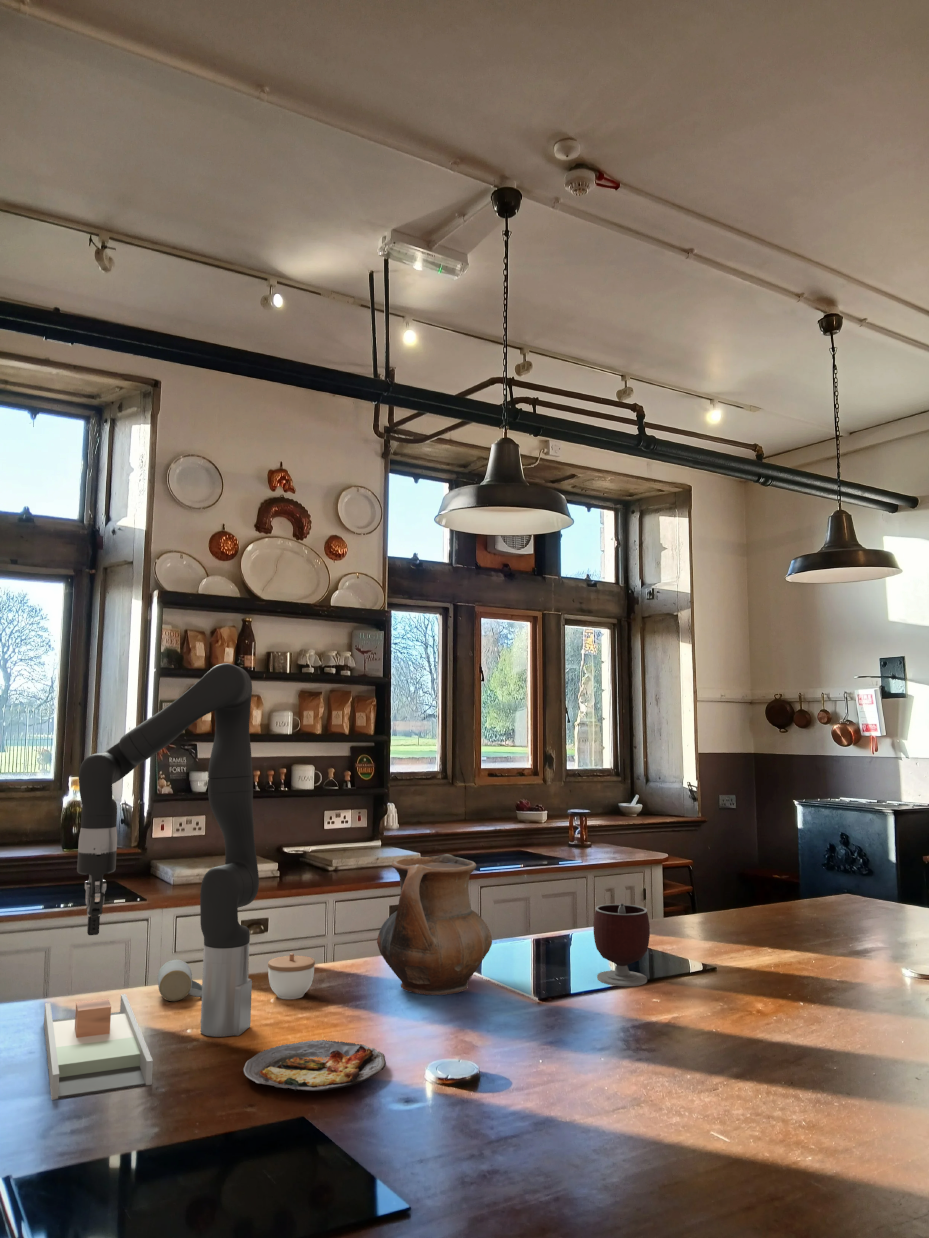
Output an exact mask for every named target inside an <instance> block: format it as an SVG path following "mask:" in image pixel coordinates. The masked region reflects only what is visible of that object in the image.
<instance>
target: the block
mask: <svg viewBox="0 0 929 1238" xmlns="http://www.w3.org/2000/svg"><path fill="white" fill-rule="evenodd" d="M111 1013H112V1005H111V1002H110V999H109V998H100V999H92V1000H84V1001H83V1000H82V1001H76V1002H75V1016H74V1017H75V1033H76V1038H79V1037H87V1036H95V1035H103V1034H110V1020H111Z"/></svg>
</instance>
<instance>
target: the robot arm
mask: <svg viewBox="0 0 929 1238" xmlns="http://www.w3.org/2000/svg"><path fill="white" fill-rule="evenodd" d="M252 682H253V681H252V679H251V677H250V675H249V673H248V672H247V671H246V670H245V669H244V668H241V667H240V666H237V665H235V664H232V663H220V664H217V665H215V666H213V667H212V668H210V670H208V671H207V672H206V673H205V674H204V675H202V677H201V678H200V679H199V680H198V681H196V682H195V683H194V684H193V685H192V686H191V687H190V688H189V689H187V691H185V692H184V693H183V694H181V695H180V696H179V697H178V698H177V699H175V700H174V701H172V702H171V703H169V705H167V706H165V707H164V708H163V709H162V710H159V711H158V712H156V713H155V714H153V715H152V716H151V717H149V718H147V719H146V720H144V721H143V722H141V723H140V724H138V725H136V727H135V726H134V728H132V729H131V730H130V731H128V732H126V733H125V734H124V735H123V736H122V737H121V738H119V741H118V742H117V743H116V744H114V745H113V746H112V747H110V748H108V749H107V750H105V751H104V752H100V753H93V754H90V755H88V756H87V757H85V759H83V761H82V763H81V764H80V767H79V772H78V787H79V796H80V802H81V816H80V817H81V818H80V832H79V837H78V850H77V865H76V871H77V873H78V874H80V875H86V876H87V875H88V880H86V881H84V889H85V901H84V902H85V904H86V910H87V911H86V915H87V928H86V931H87V932H86V933H87V935H88V936H97V935H99V934H100V922H101V915H102V914H103V907H104V904H105V896H106V894H105V893H106V891H107V881H106V880H105V879H104V875H105V874H110V873H114V872H115V871H116V867H117V865H116V864H117V847H118V832H117V831H118V830H117V822H118V821H117V819H118V803H117V802H116V800H114V798H113V785H114V784H116V783H117V782H119V781H120V780H121V779H123V778H124V777H126V776H127V775H128V774H129V773H131V772H132V771H133V770H134V769H135V768H137V766H138V765H139V764H142V763H144V762H145V761H146V760H148V759H149V758H151V757H153V756H154V755H156V754H157V753H159V752H160V751H162V750H163V749H164V748H166V747H167V746H169V745H170V744H171V743H172V742H173V741H175V740H176V739H177V738H178V737H180V735H182V733H183V732H184V731H185V730H187V729H188V728H189V727H190V726H191V725H192V724H194V723H195V722H197V721H198V720H200V719H201V718H203V717H204V716H206V715H209V714H211V713H213V712H214V721H215V724H214V725H215V729H214V739H213V744H212V749H211V752H210V753H211V754H210V757H209V762H208V773H207V778H208V779H207V780H208V781H207V787H208V788H207V789H208V790H207V793H208V803H209V807H210V810H211V812H212V814H213V816H214V818H215V820H216V822H217V824H218V826H219V828H220V831H221V833H222V836H223V839H224V850H225V851H224V853H225V858H224V859H225V861H224V862H225V863H224V864H223V865H222V864H221V865H218V866H215V867H211V868H210V869H209V870H207V872H206V873H205V874H204V876H203V878H202V881H201V884H200V885H201V886H200V897H199V900H200V901H199V902H200V903H199V904H200V909H199V910H200V919H199V920H200V928H201V929H200V930H201V932H202V935H203V957H202V958H203V960H202V983H201V985H202V997H201V1004H200V1005H201V1007H200V1011H201V1012H200V1033H201V1034H202V1035H204V1036H207V1037H212V1038H213V1037H217V1038H220V1037H221V1038H223V1037H231V1036H241V1035H242V1034H243V1033H244V1032H245V1031H246V1030H247V1029H249V1028H250V1027H251V1017H252V1016H251V1015H252V992H253V991H252V989H253V987H252V985H253V981H252V978H249V972H250V971H249V968H250V942H251V941H250V940H251V931H250V928H248V926H245V925H242V924H240V923H239V914H238V912H239V911H238V908H242V907H246V906H248V905H250V904H251V903H252V902H253V901H254V900H255V899H256V897H257V895H258V891H259V886H260V876H259V868H258V861H257V860H258V859H257V852H256V851H257V850H256V843H255V842H256V841H255V830H254V829H255V827H254V824H255V823H254V805H253V801H254V800H253V799H254V783H253V780H254V779H253V778H254V777H253V762H252V761H253V760H252V747H251V736H250V719H251V716H250V715H251V708H252V707H251V704H252V696H253V683H252Z"/></svg>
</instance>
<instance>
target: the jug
mask: <svg viewBox="0 0 929 1238" xmlns="http://www.w3.org/2000/svg"><path fill="white" fill-rule="evenodd" d="M391 867H392V868H393V869H395V871H396V872H397V874H398V875H399V877H398V878H399V884H400V885H399V886H400V894H399V899H398V905H397V909H396V911H395V912H393V913H392V914H390V916H389V917H388V918H386V920H385V921H384V922H383V924H382V926H381V927H380V929H379V931H378V935H377V939H376V944H377V946H378V951H379V953H380V955H381V957H382V958H383V960H384V961H385V962H386V964H387V965H388V967H389V968H390V969H391V970H392V972H393V973H394V974H395V975H396V977H397V978H398V979H399V981H401V984H400V988H402V990H404V991H407V992H409V993H413V994H420V995H426V996H427V995H428V996H441V995H442V996H444V995H445V996H447V995H451V994H453V995H454V994H456V993H457V994H458V993H460V992H464V991H466V990H467V989H468V988H469V981H470V979H471V978H472V977H473V975H474V974H475V972H476V971H477V969H478V968H479V966H480V965H481V963H482V962H483V960H484V959H485V958H486V956H487V954H488V953H489V952H490V950H491V947H492V945H493V944H492V943H493V938H492V934H491V931H490V929H489V926H488V924H487V922H486V921H485V920H484V919H483V918H482V917H481V916H480V915H479V913H478V912H476V911H475V910H473V909H472V907H471V903H470V901H471V900H470V894H469V893H470V892H469V883H470V876H471V874H472V873H473V872H474V871H475V870H476V868H477V864H476V862H474V861H473V860H468V859H465V858H461V857H456V856H454V855H453V854H448V853H446V854H445V853H444V854H440V855H434V856H417V857H410V858H409V857H403V858H399V859H396V860H394V861H392V862H391Z"/></svg>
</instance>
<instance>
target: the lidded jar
mask: <svg viewBox="0 0 929 1238" xmlns="http://www.w3.org/2000/svg"><path fill="white" fill-rule="evenodd" d="M315 965H316V961H315V959H314V958H313V957H310V956H306V955H305V956H304V955H295V953H292V952H291V953H289V955H285V956H284V955H283V956H278V957H274V958H271V959H270V960H269V961H268V962H267V967H268V971H267V973H268V981H269V986H270V988H271V990H272V992H273V993H274V994H276V995H277V996H276V997H277V998H278V999H282V1000H296V999H300V998H303V997H304V996H305V993H307V992H308V990H309V989H310V987H311V985H312V984H313V979H314V976H315Z"/></svg>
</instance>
